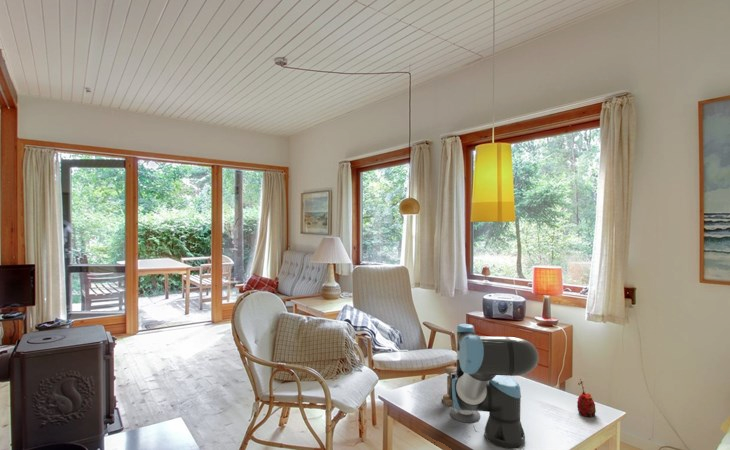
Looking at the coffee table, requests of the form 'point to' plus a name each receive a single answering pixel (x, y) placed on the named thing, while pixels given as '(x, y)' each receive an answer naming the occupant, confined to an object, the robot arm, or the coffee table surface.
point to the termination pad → (465, 416)
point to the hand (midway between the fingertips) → (465, 410)
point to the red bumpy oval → (586, 404)
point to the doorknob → (447, 398)
